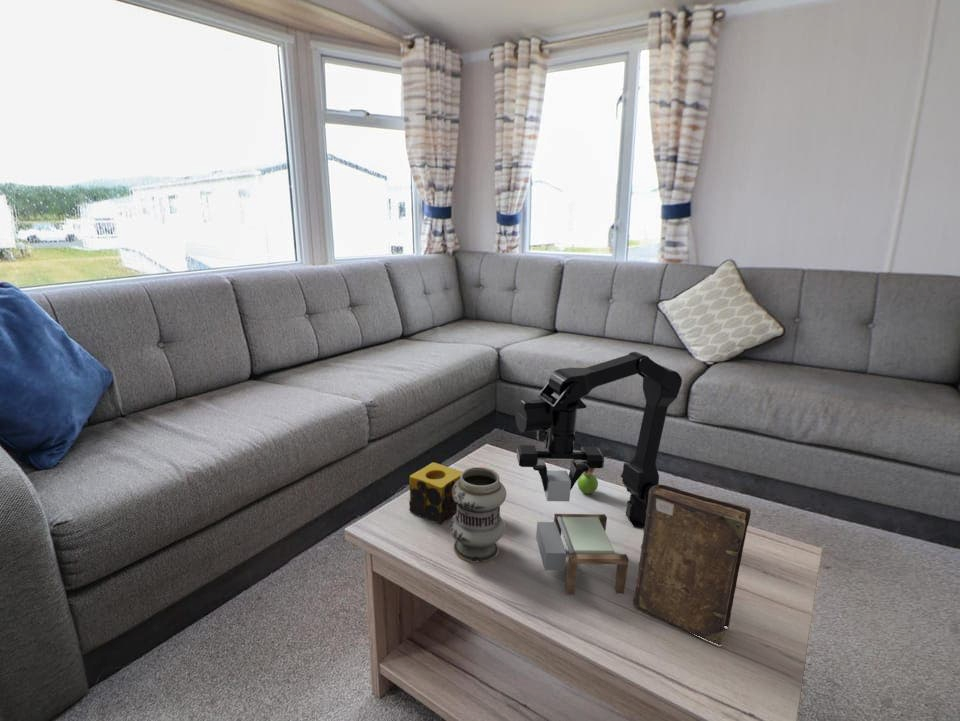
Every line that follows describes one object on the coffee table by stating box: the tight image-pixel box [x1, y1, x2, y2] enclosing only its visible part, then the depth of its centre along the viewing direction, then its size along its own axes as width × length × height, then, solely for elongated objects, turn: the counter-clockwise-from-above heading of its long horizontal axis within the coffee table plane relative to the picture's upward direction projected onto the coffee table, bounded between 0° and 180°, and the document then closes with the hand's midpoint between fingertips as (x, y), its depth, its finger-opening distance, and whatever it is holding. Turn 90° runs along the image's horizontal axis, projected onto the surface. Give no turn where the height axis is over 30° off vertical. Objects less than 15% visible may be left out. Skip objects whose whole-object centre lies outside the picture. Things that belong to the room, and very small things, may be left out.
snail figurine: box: [577, 448, 601, 495], centre depth 142 cm, size 5×6×12 cm
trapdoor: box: [535, 516, 616, 571], centre depth 110 cm, size 14×12×5 cm
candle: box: [408, 462, 463, 525], centre depth 130 cm, size 10×10×10 cm
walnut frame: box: [553, 513, 630, 595], centre depth 110 cm, size 12×16×8 cm
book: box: [632, 484, 752, 646], centre depth 95 cm, size 17×7×25 cm, turn 51°
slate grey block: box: [543, 469, 571, 502], centre depth 119 cm, size 5×5×5 cm
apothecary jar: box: [449, 466, 507, 563], centre depth 114 cm, size 12×12×18 cm
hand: (556, 490), depth 119 cm, fingers closed on slate grey block, 5 cm apart
